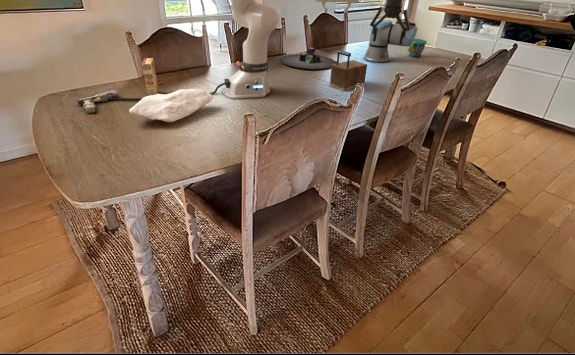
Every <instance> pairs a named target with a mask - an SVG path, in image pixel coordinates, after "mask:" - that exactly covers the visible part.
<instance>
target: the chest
mask: <svg viewBox="0 0 575 355" xmlns="http://www.w3.org/2000/svg"><path fill="white" fill-rule="evenodd" d="M330 68H331V70H330V79H329V86H330V87H332V88H334V89H337V90H339V91H343V92H345V91H349V90H353V89H356V88H355V85H356V84H357V83H363V84H364V85H365V82H366V75H367V69H368V65H367V66H366V67H362V68H358V69H353V70H349V71H342V70H339V69H336V68H333V67H330Z"/></svg>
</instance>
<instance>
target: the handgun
mask: <svg viewBox="0 0 575 355" xmlns="http://www.w3.org/2000/svg"><path fill="white" fill-rule="evenodd" d="M119 96H120V94H119V92H118V91H117V90H116V89H112V90H108V91H105V92H104V91H103V92H101V93H96V94H94V95H86V94H85V95H84V94H83V95H81V96H80V97H77V98H76V101H77V104H78V105H82V108H83V109H84V110H85V113H87V114H91V113H95V112H96V104H95V103H98V102H106V101H109V100H108V98H119Z"/></svg>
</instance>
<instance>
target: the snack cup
mask: <svg viewBox="0 0 575 355" xmlns="http://www.w3.org/2000/svg"><path fill="white" fill-rule="evenodd" d="M427 42H428V41H427V40H425V39H422V38H414V41H413V43H412V44H411V45H410V46H409V47H408V50H407V51H408V53H409V56H410V57H414V58H420V57H421V56H422V54H423V52H424V50H425V48H426V44H428V43H427Z"/></svg>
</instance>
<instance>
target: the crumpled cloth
mask: <svg viewBox="0 0 575 355" xmlns="http://www.w3.org/2000/svg"><path fill="white" fill-rule="evenodd" d="M210 93H211V92H208V91H206V90H203V89H201V88H187V89H186V88H185V89H184V88H183V89H177V90H175V91H173V92H171V93H167V94H163V93H158V94H156V95H150V96H148V95H146V96H144V97H141V98H142V99H141V100H138V102H137V103H136V104H134V105H133V106H132V107H131V108H129V114H130V115H135V116H140V117H145V118H146V119H149V120H152V121H155V120H158V121H163V122H166V123H174V122H176V121H178V120H181V119H183V118H185V117H188V116H190V115H192V114H193V113H195V112H196V111H197V110H199V109H200V108H202V107H204V106H206V105H207V104H210V102H211V101H212V100H213V99H214V98H213V97H214V96H213V95H214V94H210Z"/></svg>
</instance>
